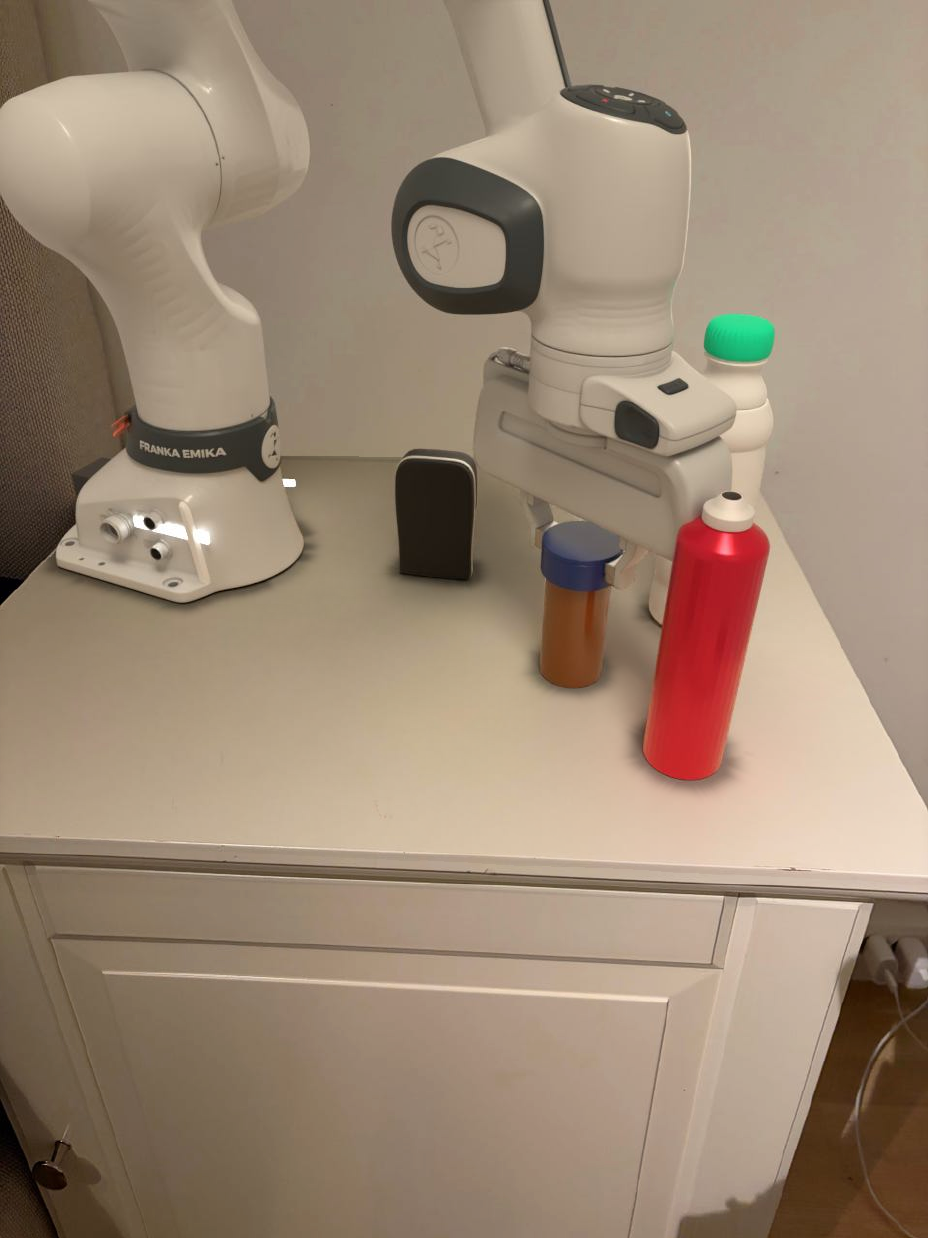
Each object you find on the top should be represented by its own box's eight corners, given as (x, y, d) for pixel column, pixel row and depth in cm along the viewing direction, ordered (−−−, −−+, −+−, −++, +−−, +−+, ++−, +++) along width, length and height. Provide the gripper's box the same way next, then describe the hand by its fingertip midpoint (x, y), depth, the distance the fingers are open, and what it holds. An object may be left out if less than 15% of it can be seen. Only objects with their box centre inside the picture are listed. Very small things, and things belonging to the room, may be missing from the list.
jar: (534, 682, 71) (543, 557, 65) (545, 647, 75) (554, 525, 69) (596, 692, 70) (611, 566, 64) (604, 656, 74) (619, 533, 68)
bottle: (737, 769, 64) (800, 509, 52) (668, 788, 62) (717, 524, 51) (694, 720, 68) (744, 469, 57) (628, 737, 66) (666, 482, 55)
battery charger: (478, 561, 86) (481, 446, 80) (472, 582, 83) (474, 465, 77) (405, 554, 87) (401, 440, 81) (396, 575, 84) (391, 458, 78)
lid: (638, 572, 67) (642, 542, 66) (584, 601, 64) (587, 570, 63) (577, 542, 71) (580, 513, 70) (523, 568, 68) (525, 538, 66)
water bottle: (733, 644, 76) (799, 339, 62) (645, 633, 77) (691, 331, 63) (730, 598, 81) (790, 309, 67) (649, 588, 83) (691, 302, 68)
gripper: (453, 350, 64) (453, 526, 72) (697, 440, 52) (665, 642, 59) (518, 331, 68) (511, 501, 75) (761, 411, 55) (723, 606, 63)
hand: (581, 564), depth 67 cm, fingers closed on lid, 6 cm apart
